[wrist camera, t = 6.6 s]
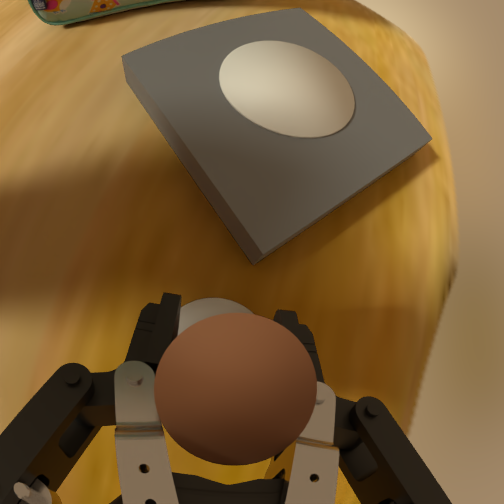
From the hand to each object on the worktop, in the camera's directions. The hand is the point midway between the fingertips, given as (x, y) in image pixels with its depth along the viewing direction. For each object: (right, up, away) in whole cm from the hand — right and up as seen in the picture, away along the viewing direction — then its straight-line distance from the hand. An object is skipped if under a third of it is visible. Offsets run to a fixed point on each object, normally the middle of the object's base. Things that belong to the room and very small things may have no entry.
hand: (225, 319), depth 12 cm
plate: (+3, +14, +10) cm, 17 cm away
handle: (-1, -3, +5) cm, 6 cm away
